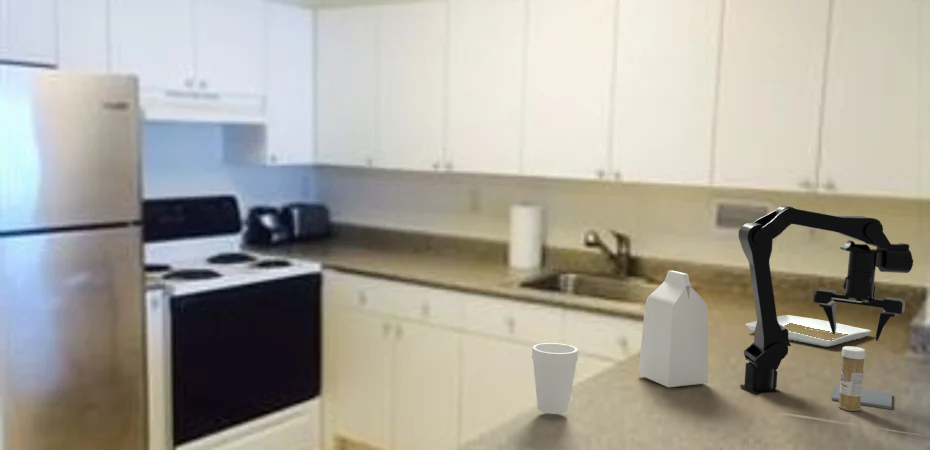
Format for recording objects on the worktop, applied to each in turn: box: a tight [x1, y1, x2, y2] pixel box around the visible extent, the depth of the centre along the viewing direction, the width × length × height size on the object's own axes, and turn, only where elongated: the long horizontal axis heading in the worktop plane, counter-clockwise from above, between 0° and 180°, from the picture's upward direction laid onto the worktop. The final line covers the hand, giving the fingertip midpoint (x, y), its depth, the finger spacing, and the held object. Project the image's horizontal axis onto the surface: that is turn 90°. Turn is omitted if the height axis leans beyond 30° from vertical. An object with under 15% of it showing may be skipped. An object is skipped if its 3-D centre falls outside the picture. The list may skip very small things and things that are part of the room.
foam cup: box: [531, 342, 579, 415], centre depth 173 cm, size 10×9×13 cm
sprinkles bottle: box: [838, 345, 866, 412], centre depth 179 cm, size 5×5×13 cm
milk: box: [637, 270, 709, 388], centre depth 199 cm, size 12×12×26 cm
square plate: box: [745, 314, 873, 348], centre depth 252 cm, size 27×27×4 cm
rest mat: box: [831, 384, 893, 410], centre depth 188 cm, size 12×12×1 cm
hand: (855, 337), depth 192 cm, fingers open, 9 cm apart
